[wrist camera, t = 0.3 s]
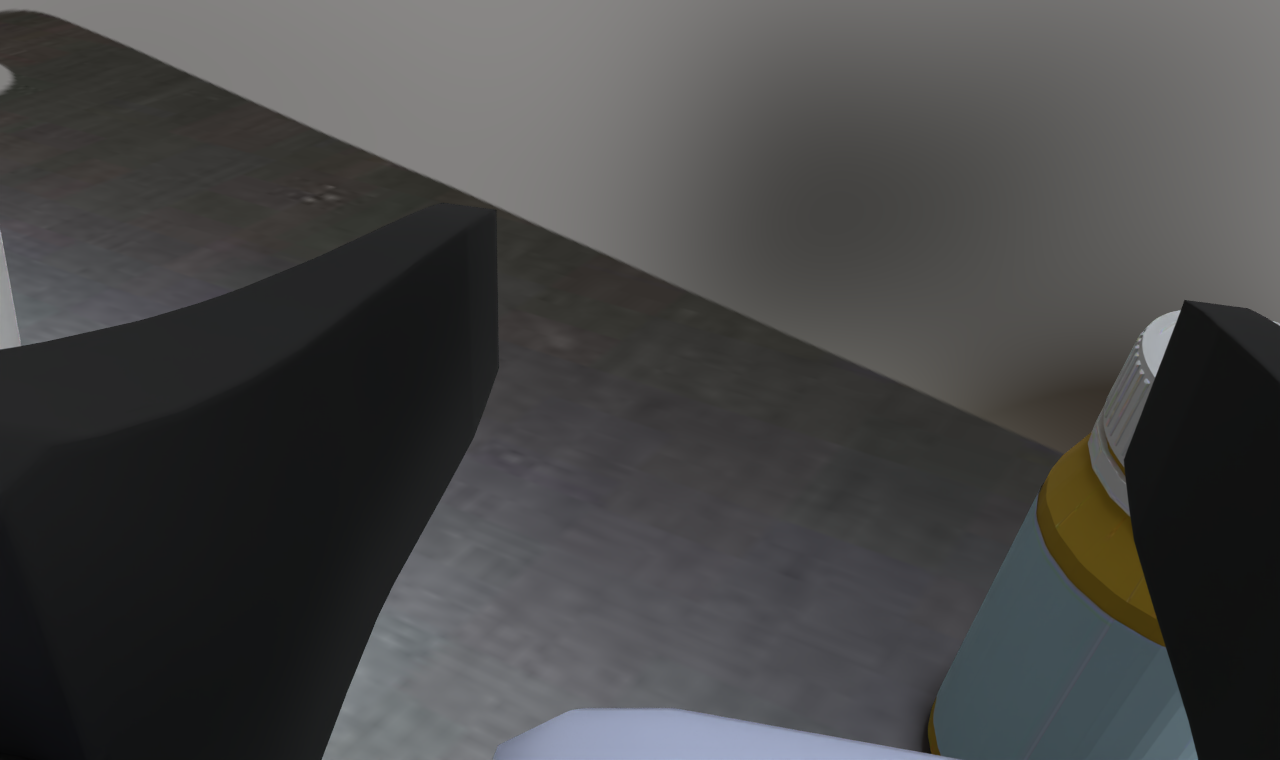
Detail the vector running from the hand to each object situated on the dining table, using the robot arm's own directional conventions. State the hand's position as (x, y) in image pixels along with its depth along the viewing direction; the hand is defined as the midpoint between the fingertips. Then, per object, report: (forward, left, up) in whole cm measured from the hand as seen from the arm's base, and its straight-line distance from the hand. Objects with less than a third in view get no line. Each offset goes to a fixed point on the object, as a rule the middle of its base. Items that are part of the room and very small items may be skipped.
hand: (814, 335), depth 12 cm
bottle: (+12, -11, -22) cm, 27 cm away
